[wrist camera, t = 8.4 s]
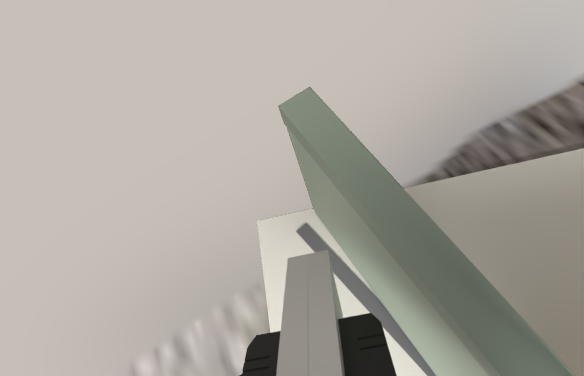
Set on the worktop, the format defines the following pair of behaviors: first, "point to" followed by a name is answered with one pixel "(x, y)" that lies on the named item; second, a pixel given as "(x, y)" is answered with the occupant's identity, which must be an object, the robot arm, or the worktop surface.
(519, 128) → the worktop surface
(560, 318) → the card
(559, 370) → the hinged fence section
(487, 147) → the worktop surface
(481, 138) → the worktop surface
